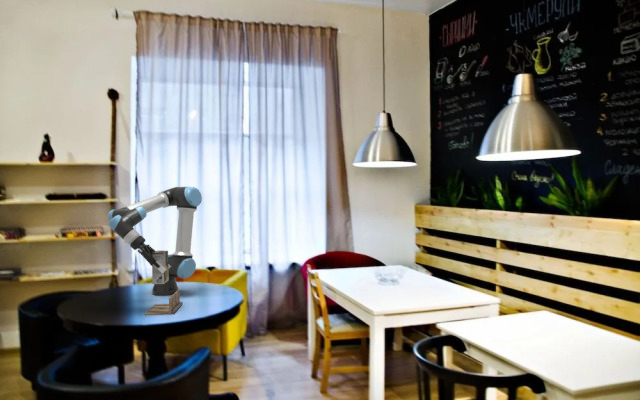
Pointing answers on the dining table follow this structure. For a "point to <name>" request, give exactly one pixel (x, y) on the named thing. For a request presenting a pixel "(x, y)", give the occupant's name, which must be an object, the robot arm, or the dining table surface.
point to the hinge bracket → (166, 306)
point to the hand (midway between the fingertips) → (166, 269)
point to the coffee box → (163, 260)
